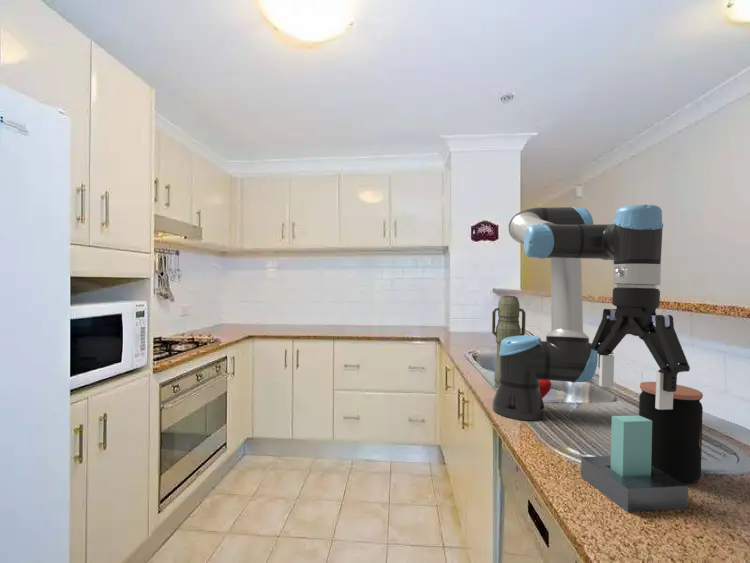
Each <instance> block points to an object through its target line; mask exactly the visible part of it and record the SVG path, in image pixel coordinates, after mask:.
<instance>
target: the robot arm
mask: <svg viewBox="0 0 750 563" xmlns="http://www.w3.org/2000/svg"><path fill="white" fill-rule="evenodd" d="M663 228H664V223H663V210H662V208H661V207H659V206H658V205H656V204H655V205H654V204H636V205H635V204H634V205H633V204H632V205H628V206H627V205H626V206H623V207H622V206H621V207H620V208H618V209H617V210H616V211H615V215H614V220H613V223H612V224H608V223H607V224H605V223H604V224H601V223H600V224H596V223H595V224H594V219H593V216H592V214H591V213H590V211H589V210H588V209H587V208H585V207H576V206H568V207H564V206H563V207H562V206H561V207H558V206H557V207H556V206H555V207H532V208H531V207H530V208H527V209H523V210H521V211H520V212H517V213H515V215H514V216H513V217H512V218H511V219H510V221H509V224H508V232H509V235H510V236H511V238H512V240H514V241H515V242H517V243H519V244H523V250H524V253H525V256H527V257H528V258H536V259H537V258H538V259H550V292H551V293H550V297H551V299H550V301H551V302H550V303H551V306H550V311H551V313H550V315H551V320H550V321H551V330H550V331H549V332H548V333H547V334H546V336H545V337H546V338H545V339H546V340H545V341H543V340H542V339H541V337H540V336H538V335H528V334H527V335H526V334H525V335H522V336H512V337H507V338H504V339H503V340H502V341H501V345H500V352H499V355H500V371H499V386H498V389H496V392H495V394H494V397H493V399H492V410H493V412H495V413H497V414H498V415H501V416H502V417H503V416H504V417H506V418H509V419H515V420H521V421H537V420H541V419H543V418H545V417H546V408H545V403H544V400H543V399H542V397H541V394H540V390H539V381H540V380H550V381H554V382H557V381H559V382H570V383H572V384H573V383H587V382H589V381H590V380H592V379H593V377H594V375H595V373H596V370H597V367H598V369H599V370H598V371H599V375H598V377H599V378H598V379H599V380H598V386H599V387H602V388H603V387H604V388H605V387H608V388H609V387H610V388H611V387H612V388H613V387H614V380H615V379H614V377H615V375H614V374H615V355H614V350H615V349H616V348H617V346H618V345H619V344H620V343H621V341H622V340H623V339H624V338H625V337H626V336H627V335H632V336H634V337H638V338H639V339H640V340H642V341H643V342H644V344H645V346H646V347H647V349H648V350H649V352H650V354H651V356H652V357H653V359H654V360H655V362H656V364H657V365H658V367H659V370H657V371H656V376H655V382H656V401H655V408H656V409H659V410H663V409H673V392H675V391H676V389H677V385H678V384H677V382H678V374H679V373H685V372H690V369H691V366H690V364H689V362H688V360H687V357H686V355H685V352H684V349H683V347H682V345H681V342H680V340H679V337H678V335H677V332H676V329H675V325H674V316H673V315H671V314H657V311H656V310H657V309H658V308H659V307H660V306H661V290H660V289H659V288H657V287H658V286H660V285H661V281H662V278H661V276H662V275H661V271H662V268H661V266H662V264H661V263H662V261H661V260H662V242H663ZM582 259H589V260H590V259H592V260H593V259H594V260H595V259H596V260H603V261H605V260H606V261H608V260H610V261H613V276H612V277H613V281H612V283H613V284H614V285H616V287H613V289H612V298H611V299H612V301H611V302H612V305H613V306H614V307H616V308H604V309H603V311H602V319H601V321H600V323H599V325H598V328H597V330H596V332H595V335H594V338H593V339H592V342H590V338H589V336H588V334H586V333H585V332H584V323H583V322H584V320H583V319H584V317H583V313H584V312H583V278H582V275H583V274H582V269H583V268H582Z"/></svg>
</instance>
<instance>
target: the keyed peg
mask: <svg viewBox="0 0 750 563" xmlns="http://www.w3.org/2000/svg"><path fill="white" fill-rule="evenodd" d="M610 431H611V432H610V436H611V437H610V438H611V439H610V456H611V470H613V471H614V472H616V473H617V474H619V475H620V476H622V477H638V476H651V454H652V421H651V420H649V419H646V418H644V417H642V416H639V414H638V415H612V416H611V430H610Z"/></svg>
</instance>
